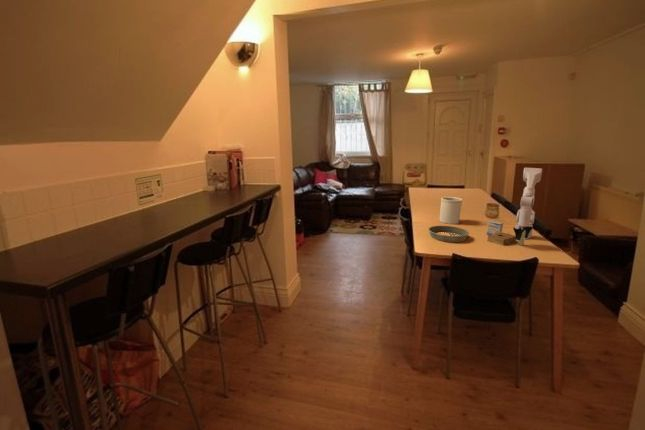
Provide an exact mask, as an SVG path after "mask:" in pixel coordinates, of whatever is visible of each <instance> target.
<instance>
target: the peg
mask: <svg viewBox="0 0 645 430" xmlns="http://www.w3.org/2000/svg"><path fill="white" fill-rule="evenodd" d="M525 232H526V231H525V230H524V232H523V233H522V236H521V239H520V240H517V246H521V247H523V246H524V244H525V239H524V238H525Z"/></svg>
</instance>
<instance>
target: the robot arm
mask: <svg viewBox="0 0 645 430" xmlns="http://www.w3.org/2000/svg"><path fill="white" fill-rule="evenodd" d="M522 174H523V175H522V181H523V182H525V183H526V186H525V187H524V188H523V193H522V196H521V197H520V198H521V199H520V209H518V210H517V212H516V219H515V222H516V223H517V224H515V226H514V227H512V229H513V231H514V234H513V235H514V236H516V241H518V240H520V239H521V236H522V233H523V232H524V230H525V231H526V232H525V238H524V240H528V239H531V237H532V238H534V236H533V231H534V226H533V224H534V222H535V218H536V211H534V210H533V207H534V203H535V194H536V193H535V191H536V189H535V186H536V184H537V183H539V182H540V181H541V179H542V175H543V168H541V167H540V168H538V167H537V168H536V167H524V168H523V173H522Z"/></svg>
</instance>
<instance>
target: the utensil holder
mask: <svg viewBox="0 0 645 430" xmlns="http://www.w3.org/2000/svg"><path fill="white" fill-rule="evenodd" d="M463 200H464V199H462V198H460V197H455V196H442V197H440V209H439V222H440V223H443V224H448V225H449V224H450V225H458V224H459V223H460V218H461V212H462V211H461V210H462V205H463V204H462V203H463V202H464V201H463Z"/></svg>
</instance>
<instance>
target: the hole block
mask: <svg viewBox="0 0 645 430" xmlns="http://www.w3.org/2000/svg"><path fill="white" fill-rule="evenodd" d="M514 235H515V234H510V233H505V232H503V231H502V232H499V233H496V234H492V235H487V242H489V243H494V244H496V245H500V246H505V245H508V244H509V245H510V244H513V243H516V242H517V240H516V236H514Z"/></svg>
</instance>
